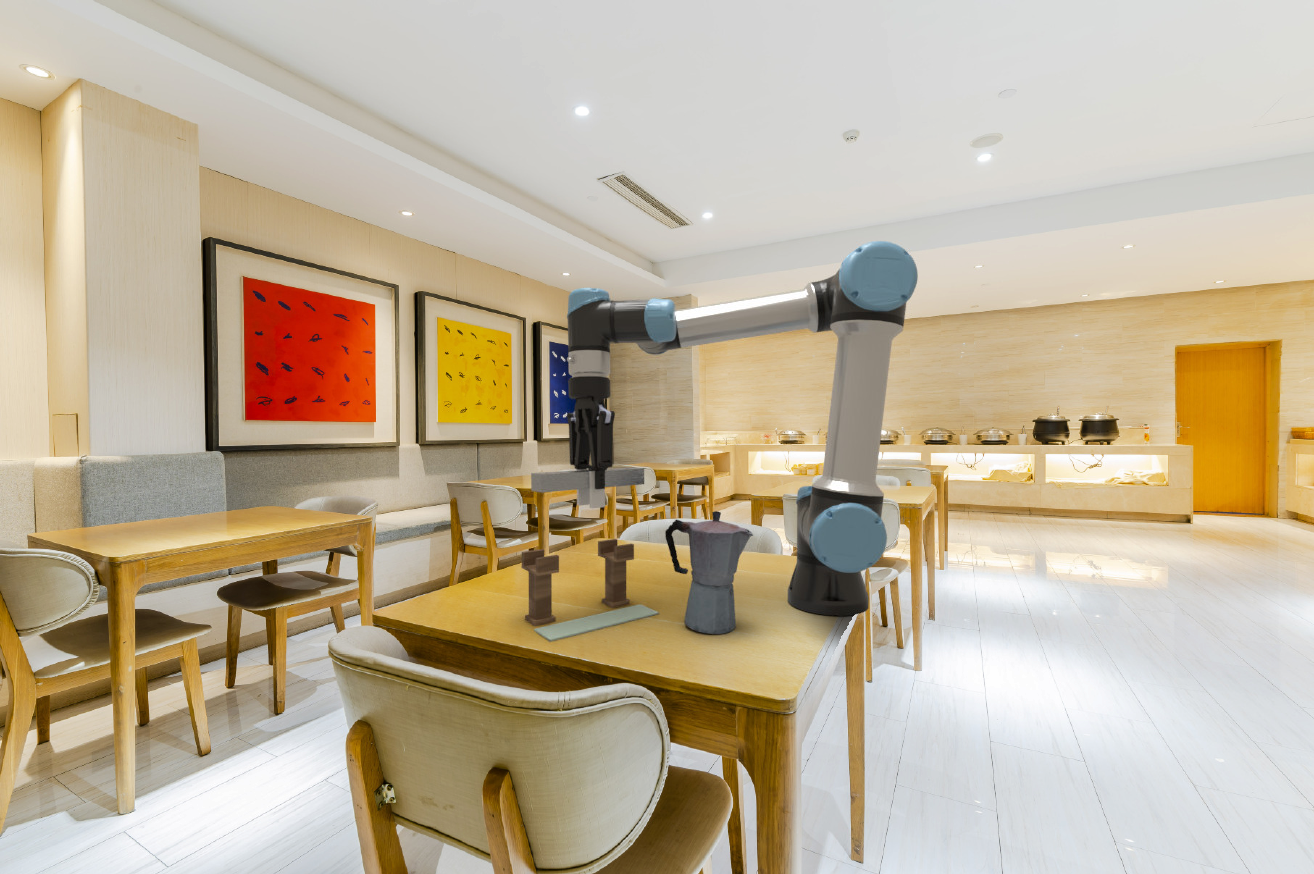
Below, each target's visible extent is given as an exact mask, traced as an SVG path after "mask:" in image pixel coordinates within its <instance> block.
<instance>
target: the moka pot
mask: <svg viewBox="0 0 1314 874" xmlns="http://www.w3.org/2000/svg"><path fill="white" fill-rule="evenodd" d="M711 513H712V515H711V516H712V520H705V521H698V522H693V521H683V520H679V519H674V521H672V524H670V525H669V526H668V528H667V529H666V530H665V534H664V535H665V541H666V543H667V546H668V551H669V553H670V554H669V555H670V558H671V563H672V566H673V570H674V572H675V573H679V574H682V575H687V574H688V572H689V569H688V568H686V567H685V568H684V567H681V566H680V561H679V560H678V554H677V553H678V552H677V549H676V545H675V541H674V537H673V533H674V532H675V531H679V532H680V533H684V534H688V542H689V554H690V555H689V556H690V566H691V569H692V570H691V571H690V573H691V578H692V580H691V583H690V588H689V593H688V598H687V604H686V609H685V613H684V621H683V622H684V625H685V626H687V627H688V628H689V629H690V630H693V631H695V632H697V633H702V634H711V635H722V634H723V635H724V634H727V633H728V634H729V633H730V632H732V631H734V630H735V628H736V625H737V624H736V622H737V620H736V608H735V590H734V585H733V583H734V580H735V574H736V573H737V572H738V571H737V570H738V564H739V559H740V557H741V555H742V553H743V552H744V550H745V547H746V546H747V543H748V542H749V540H750V538H751V537H752V536H754V533H753V532H752V531H750V530H749V529H747V528H744V527H741V526H739V525H737V524H733V523H729V522H725V521H722V520H720V519H721V515H722V512H721V511H716V510H715V511H712V512H711Z"/></svg>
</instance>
